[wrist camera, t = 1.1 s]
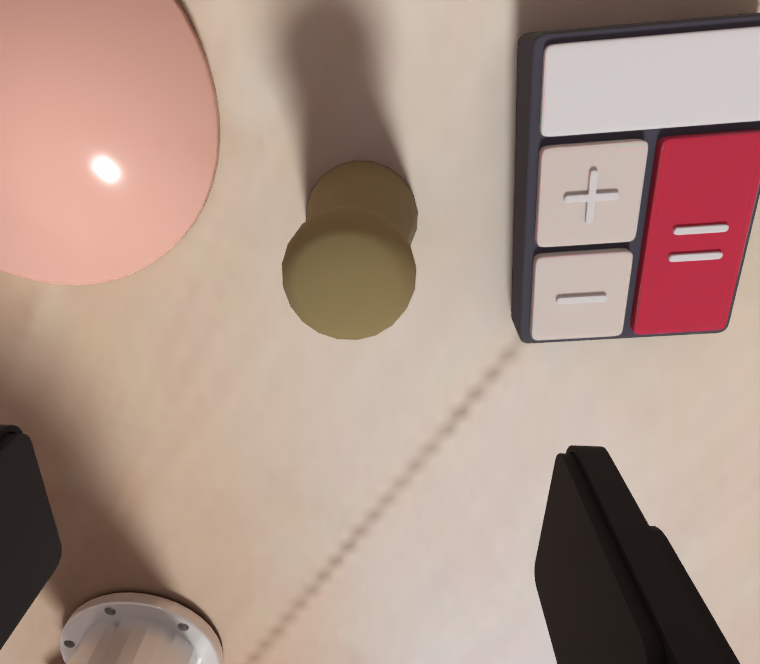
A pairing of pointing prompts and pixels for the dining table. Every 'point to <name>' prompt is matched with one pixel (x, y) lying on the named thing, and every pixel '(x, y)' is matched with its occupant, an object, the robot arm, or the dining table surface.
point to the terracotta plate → (100, 136)
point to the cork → (353, 252)
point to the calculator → (634, 177)
